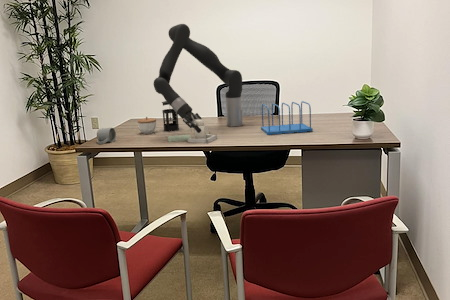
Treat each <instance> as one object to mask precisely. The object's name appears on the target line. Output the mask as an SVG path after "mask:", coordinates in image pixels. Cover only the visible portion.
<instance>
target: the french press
mask: <svg viewBox="0 0 450 300" xmlns="http://www.w3.org/2000/svg"><path fill="white" fill-rule="evenodd" d="M161 103H162V106H163V107H164V106H166V105H167V106H168V105H169V104H168V102H167V101H166V100H164V101H161ZM168 108H169V109H168ZM168 108H166V109H163V110H162V111H161V112H162V119H163V121H162V122H163V132H176V131H179V130H180V123H179V115H178V114H177V113H176V112H175V111H174V110H173V108H171V106H170V105H169V107H168Z"/></svg>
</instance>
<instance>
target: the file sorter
mask: <svg viewBox="0 0 450 300" xmlns="http://www.w3.org/2000/svg"><path fill="white" fill-rule="evenodd" d="M303 103H304V104H306V105H308V107H309V125H307V124H305V123H303ZM284 105H285V106H287V108H288V123H289V124H284V114H283V112H284V111H283V110H284V108H283V107H284ZM290 105H291V106H290ZM290 105H289V104H287V103H285V102H281V109H280V106H279V105H278V104H276V103H272V104H271V119H270V108H269V106H268V105H266V104H264V103H262V104H261V123H262V126H261V127H260V130H261V131H263V132H264V133H265V134H266V135H267V136H270V135H271V136H272V134H274V135H283V134H282V133H285V134H295V133H294V132H297V133H308V132H307V131H311V132H313V130H314V129H313V128H312V113H311V112H312V110H311V104H310V103H309V102H306V101H304V100H302V101H301V102H300V104H299V103H297V102H295V101H292V102H291V104H290ZM293 105H297V106H298V108H299V112H298V114H299V123H294V122H293V121H294V119H293V117H294V116H293ZM274 106H276V107H277V108H278V125H277V124H276V125H274ZM264 107H265V108H267V115H268V116H267V119H268V120H267V121H268V125H266V126H265V124H264V111H263V109H264ZM270 120H271V121H270ZM270 122H272V123H270ZM270 124H272V125H270Z"/></svg>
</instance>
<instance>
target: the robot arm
mask: <svg viewBox="0 0 450 300" xmlns="http://www.w3.org/2000/svg"><path fill="white" fill-rule="evenodd" d="M190 29H191V28H190V26H188V25H187V24H185V23H179V24H176V25H173V26H171V27H170V28H169V29H168V37H169V39H170V40H171V41H172V43H171V44H172V45H171V46H170V48H169V50H168V51H167V53H166V54H165V55H164V58H163V59H162V62H161V65H160V67H159V71H158V77H156V78H155V79H154V80H153V88H154V90H155V92H156V93H157V94H160V95H161V96H162V97H163V98H164V101H167V102H168V104H169V105H170V108H171V109H173V110H174V111H175V112H176V113H177V114H178V117H180V118H181V119H182V122H183V123H185V125H186V126H187V127H189V129H193V130H194V129H195V130H196V131H197V132H198V133H200V132H201V129H200V128H199V127H198V126H197V125H196V123H195V119H203V118H202V117H201V116H200V114H198V112H195V113H194V112H193V108H192V107H191V106H190V105H189V104H188V103H187V101H186V100H185V99H184V98H183V97H181V96H180V95H179V94H178V93H177V92H176V91H175V90H174V89H173V87H172V86H171V85H170V82H171V77H172V75H173V73H174V70H175V67H176V65H177V62H178V60H179V57H180V55H181V53H182V51H183V50H184V51H186V52H187V53H189V54H190V55H191V56H192V57H194V58H195V59H196V60H197V61H198V62H199V63H200V64H202V65H203V66H204V67H205V68H207V70H210V72H212V73H213V74H215V75H216V76H217V77H218V78H219V79H220V81H222V82H223V83H224V84H225V85H226V86H228V89H227V90H228V91H226V92H225V111H226V113H225V114H226V126H227V127H240V126H243V123H244V122H243V109H242V92H243V76H242V73H241V72H240V71H239V70H235V69H230V68H228V67H226V66H225V65H224V64H223V63H222V62H221V60H220V59H219V57H218V56H217V54H216V53H215V52H214V51H213V50H212V49H210V48H209V47H208V46H206V45H204V44H202V43H200V42H197V41H195V40H193V39H192V38H190V36H191V30H190Z"/></svg>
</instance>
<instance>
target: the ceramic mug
mask: <svg viewBox="0 0 450 300" xmlns="http://www.w3.org/2000/svg"><path fill="white" fill-rule="evenodd" d="M116 133H117V132H116V130H115V128H114V127H105V128H104V127H103V128H100V129H98V130H97V132H96V138H97V139H96V143H97V144H98V145H104V144H106V143H114V142H115V140H116V137H117V134H116Z"/></svg>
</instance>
